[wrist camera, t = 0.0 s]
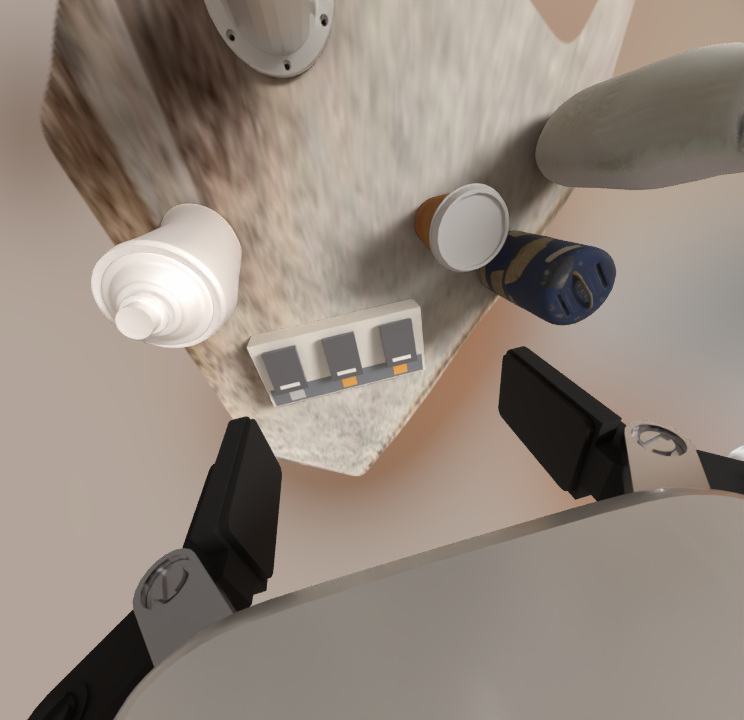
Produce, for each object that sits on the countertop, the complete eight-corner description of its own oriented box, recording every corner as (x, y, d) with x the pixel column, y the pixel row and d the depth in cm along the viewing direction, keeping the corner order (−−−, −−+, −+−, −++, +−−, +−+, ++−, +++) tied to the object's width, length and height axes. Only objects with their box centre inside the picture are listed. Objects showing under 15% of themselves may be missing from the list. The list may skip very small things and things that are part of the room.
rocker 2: (378, 325, 45) (379, 327, 44) (409, 317, 45) (411, 319, 44) (386, 365, 48) (387, 368, 47) (415, 358, 48) (417, 360, 47)
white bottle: (237, 188, 37) (140, 193, 15) (272, 270, 42) (237, 356, 21) (146, 214, 36) (-78, 255, 15) (194, 293, 42) (80, 404, 21)
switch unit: (251, 336, 47) (245, 350, 43) (412, 298, 49) (421, 308, 45) (276, 393, 53) (274, 410, 49) (418, 358, 55) (426, 371, 51)
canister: (481, 298, 51) (554, 346, 36) (466, 248, 46) (544, 279, 31) (532, 270, 50) (629, 308, 35) (522, 216, 45) (631, 232, 30)
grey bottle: (566, 75, 37) (1022, -116, 13) (600, 140, 41) (983, 82, 18) (507, 149, 40) (794, 99, 16) (544, 202, 44) (811, 222, 21)
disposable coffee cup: (391, 215, 41) (417, 225, 31) (446, 167, 40) (494, 161, 30) (424, 267, 46) (457, 290, 36) (475, 226, 44) (524, 239, 34)
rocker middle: (321, 338, 44) (321, 341, 43) (353, 331, 45) (353, 333, 44) (332, 378, 47) (332, 381, 46) (362, 371, 47) (363, 374, 46)
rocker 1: (262, 352, 44) (260, 355, 43) (295, 344, 44) (294, 347, 43) (277, 392, 46) (276, 395, 45) (308, 384, 47) (307, 388, 46)
